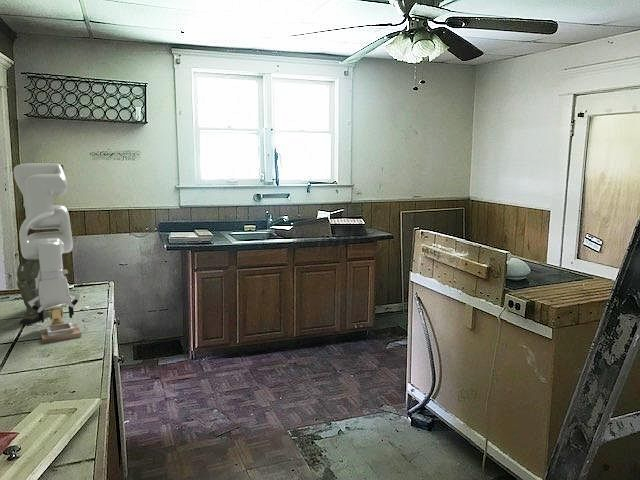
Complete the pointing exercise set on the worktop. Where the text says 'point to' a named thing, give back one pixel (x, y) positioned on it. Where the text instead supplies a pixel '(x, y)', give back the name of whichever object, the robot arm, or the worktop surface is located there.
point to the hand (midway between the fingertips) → (56, 319)
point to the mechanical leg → (29, 289)
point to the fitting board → (60, 332)
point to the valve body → (56, 315)
